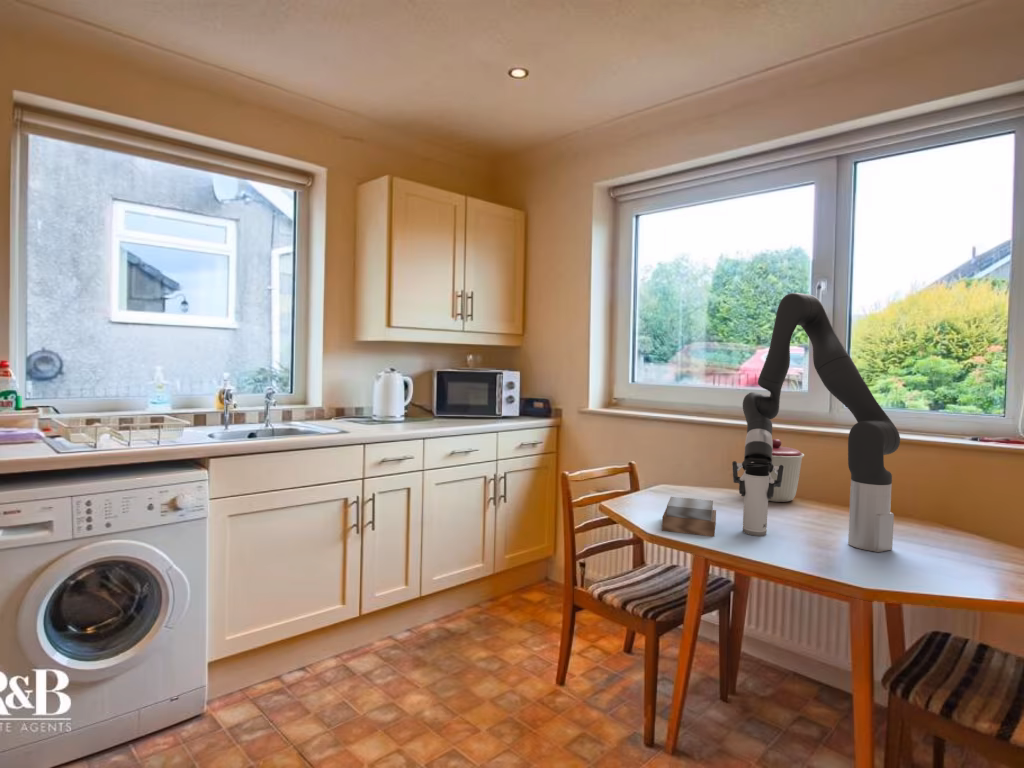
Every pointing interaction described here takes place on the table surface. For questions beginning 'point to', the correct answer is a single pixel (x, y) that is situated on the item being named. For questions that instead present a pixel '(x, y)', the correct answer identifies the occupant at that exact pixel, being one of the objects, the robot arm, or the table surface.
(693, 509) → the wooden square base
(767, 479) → the travel mug
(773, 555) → the table surface
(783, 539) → the table surface
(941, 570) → the table surface
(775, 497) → the canister
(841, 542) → the table surface
